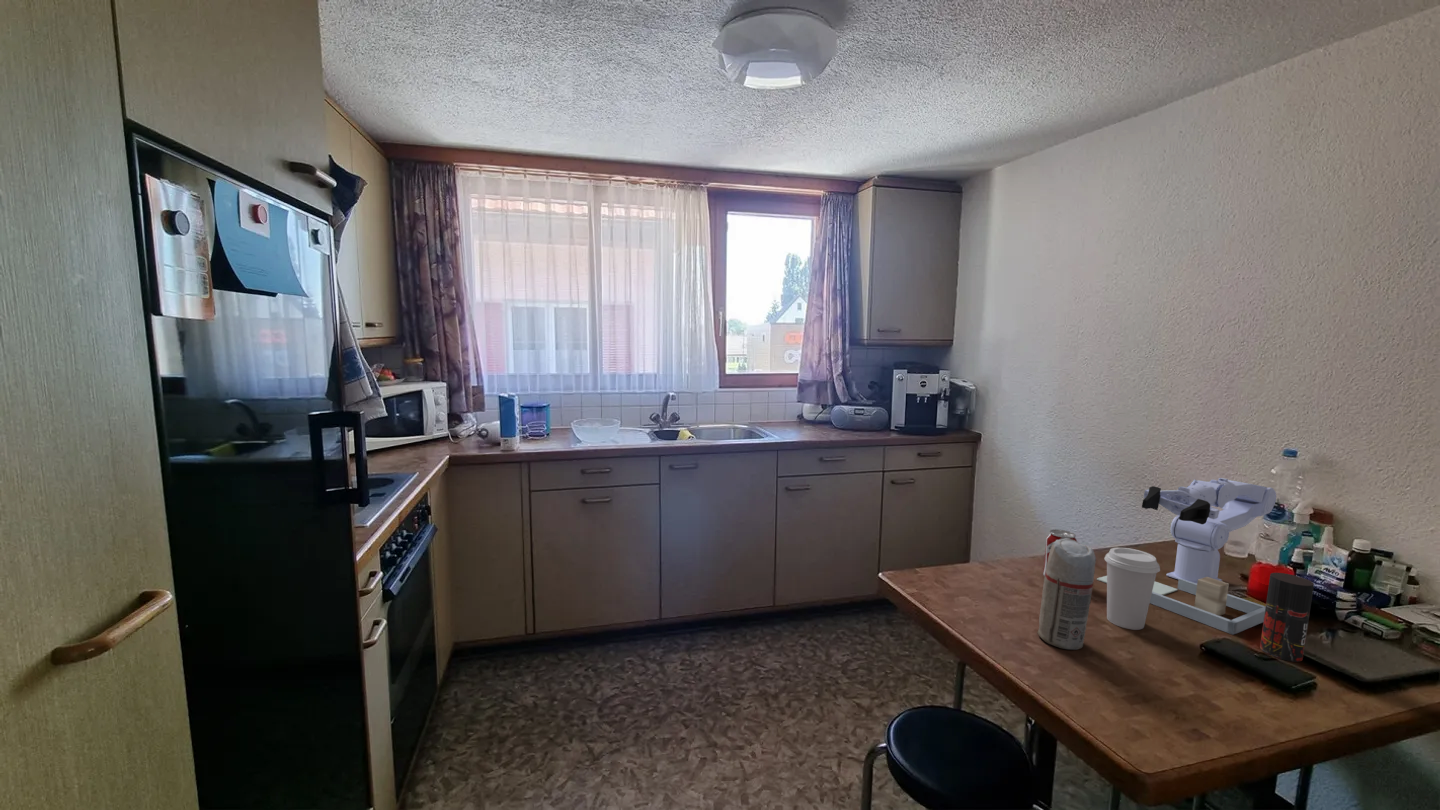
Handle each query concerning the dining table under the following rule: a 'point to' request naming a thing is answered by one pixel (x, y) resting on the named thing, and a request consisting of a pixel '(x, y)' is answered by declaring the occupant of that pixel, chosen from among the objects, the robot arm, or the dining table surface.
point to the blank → (1211, 595)
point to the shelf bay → (1210, 619)
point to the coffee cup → (1129, 586)
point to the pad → (1157, 587)
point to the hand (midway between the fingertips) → (1162, 509)
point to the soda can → (1052, 538)
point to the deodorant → (1286, 616)
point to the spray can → (1067, 594)
